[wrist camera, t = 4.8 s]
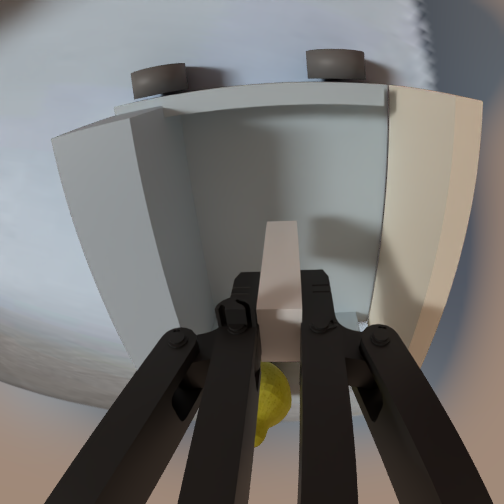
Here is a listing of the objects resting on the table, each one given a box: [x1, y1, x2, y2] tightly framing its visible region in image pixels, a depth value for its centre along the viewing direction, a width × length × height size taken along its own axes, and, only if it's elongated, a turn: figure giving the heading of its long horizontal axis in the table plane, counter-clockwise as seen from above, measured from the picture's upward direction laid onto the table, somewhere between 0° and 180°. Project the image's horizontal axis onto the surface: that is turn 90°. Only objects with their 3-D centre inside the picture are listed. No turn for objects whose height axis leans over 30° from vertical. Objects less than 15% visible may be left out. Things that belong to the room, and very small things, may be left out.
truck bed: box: [51, 49, 388, 370], centre depth 17 cm, size 15×20×9 cm
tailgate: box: [368, 85, 483, 368], centre depth 14 cm, size 1×16×8 cm, turn 6°
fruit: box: [254, 360, 292, 447], centre depth 25 cm, size 7×7×12 cm
